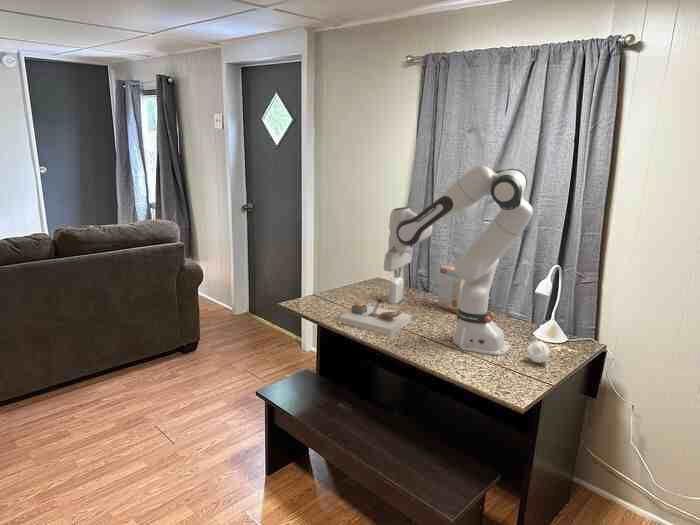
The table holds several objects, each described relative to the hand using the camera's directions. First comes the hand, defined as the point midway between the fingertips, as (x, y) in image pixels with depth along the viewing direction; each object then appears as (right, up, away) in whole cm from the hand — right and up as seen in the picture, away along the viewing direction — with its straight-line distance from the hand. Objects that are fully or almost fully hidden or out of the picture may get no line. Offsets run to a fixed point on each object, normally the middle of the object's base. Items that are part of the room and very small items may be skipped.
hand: (397, 276), depth 206 cm
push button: (-16, -14, +14) cm, 26 cm away
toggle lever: (-10, -17, +10) cm, 22 cm away
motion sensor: (+51, -31, -24) cm, 64 cm away
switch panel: (-9, -21, +11) cm, 25 cm away
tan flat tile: (-3, -17, +6) cm, 18 cm away
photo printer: (+3, -14, +39) cm, 42 cm away
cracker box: (+30, -17, +29) cm, 45 cm away
